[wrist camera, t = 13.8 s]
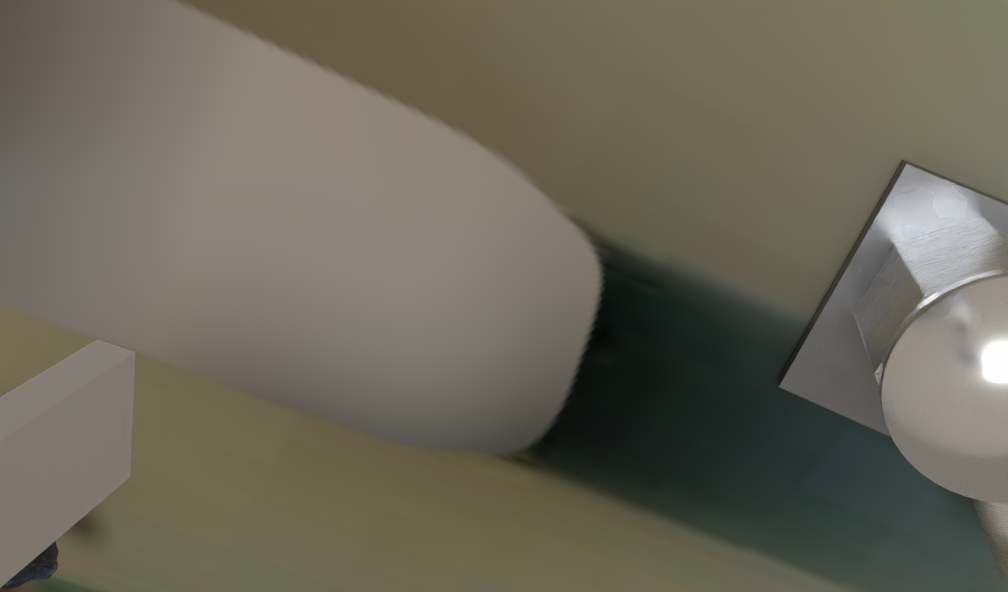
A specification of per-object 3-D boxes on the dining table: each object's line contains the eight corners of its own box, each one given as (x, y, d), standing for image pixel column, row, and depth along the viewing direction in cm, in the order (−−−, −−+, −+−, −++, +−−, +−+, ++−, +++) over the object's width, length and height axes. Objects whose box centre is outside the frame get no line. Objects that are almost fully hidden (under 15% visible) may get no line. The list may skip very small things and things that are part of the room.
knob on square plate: (778, 378, 43) (784, 451, 36) (902, 159, 38) (937, 196, 31) (1009, 481, 42) (1061, 578, 35) (1169, 268, 37) (1265, 332, 30)
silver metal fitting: (922, 518, 42) (958, 628, 35) (830, 260, 39) (849, 321, 32) (1134, 475, 39) (1224, 586, 32) (1051, 189, 36) (1129, 239, 29)
